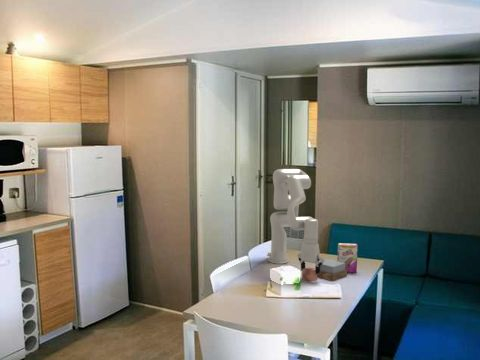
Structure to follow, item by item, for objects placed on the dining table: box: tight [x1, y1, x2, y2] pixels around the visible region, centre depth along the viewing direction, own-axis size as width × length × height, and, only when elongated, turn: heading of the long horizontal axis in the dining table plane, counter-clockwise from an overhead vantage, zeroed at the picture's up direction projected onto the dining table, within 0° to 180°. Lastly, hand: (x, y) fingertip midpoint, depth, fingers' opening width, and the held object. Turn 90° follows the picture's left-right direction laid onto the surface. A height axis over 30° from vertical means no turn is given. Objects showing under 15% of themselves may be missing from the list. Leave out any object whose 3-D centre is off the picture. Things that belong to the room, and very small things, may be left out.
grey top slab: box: [314, 258, 345, 274], centre depth 267 cm, size 12×12×4 cm
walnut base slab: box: [317, 270, 348, 282], centre depth 267 cm, size 14×14×4 cm
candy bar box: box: [336, 242, 359, 274], centre depth 276 cm, size 11×5×16 cm, turn 84°
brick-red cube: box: [301, 266, 318, 282], centre depth 260 cm, size 6×6×6 cm
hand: (310, 271), depth 259 cm, fingers open, 9 cm apart
